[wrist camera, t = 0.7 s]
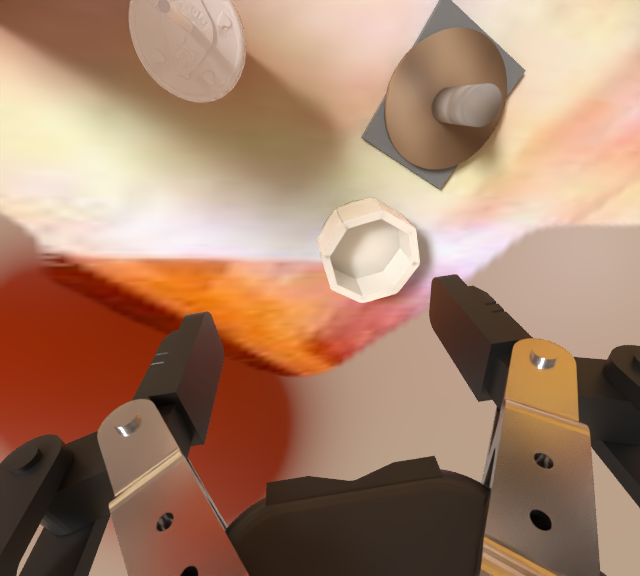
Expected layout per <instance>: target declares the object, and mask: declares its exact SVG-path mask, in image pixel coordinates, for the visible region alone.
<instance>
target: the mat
mask: <svg viewBox="0 0 640 576" xmlns="http://www.w3.org/2000/svg"><path fill="white" fill-rule="evenodd" d="M457 27H463V28H470V29H473V30H476V31H478V32H480V33H482V34H484V35H485V36H487V37H488V38H489V39H490V40H491V41H492V42H493V43H494V44H495V45H496V47H497V49H498V50H499V52H500V54H501V56H502V58H503V61H504V65H505V68H506V75H507V92H506V97H507V96H508V94H509V93H510V92H511V90H512V89H513V87H514V86H515V85H516V83H517V82H518V80H519V79H520V78H521V76H522V75H523V73H524V72H525V70H524V69H523V68H522V67H521V66H520V65H519V64H518V63H517V62H516V61H515V60H514V59H513V58H512V57H511V56H510V55H509V54H507V53H506V52H505V51H504V50H503V49H502V48H501V47H500V46H499V45H498V44H497V43H496V42H495V41H494V40H493V39H492V38H490V37H489V36H488V35H487V34H486V33H485V32H484V31H483V30H482V29H481V28H480V27H479V26H478V25H477V24H476V23H475V22H474V21H472V20H471V19H470V18H469V17H468V16H467V15H466V14H465V13H464V12H463V11H462V10H461V9H460V8H459V7H458V6H457V5H455V4H454V3H453V2H452V1H451V0H439V2H438V4H437V5H436V7H435V9H434V11H433V12H432V14H431V16H430V18H429V19H428V21H427V23H426V25H425V27H424V28H423V30H422V32H421V34H420V35H419V37H418V39H417V41H416V42H415V44H414V46H415V45H416V44H418V43H419V42H420V41H421V40H423V39H425V38H426V37H428V36H430V35H432V34H434V33H437V32H439V31H442V30H445V29H449V28H457ZM414 46H413V47H414ZM385 97H386V95H385ZM385 97H384V99H383V100H382V102H381V104H380V106H379V107H378V109H377V111H376V113H375V114H374V116H373V118H372V120H371V121H370V123H369V125H368V127H367V128H366V130H365V132H364V134H363V135H362V137H361V138H363V139H364V140H366V141H367V142H369V143H370V144H372V145H373V146H375V147H376V148H378V149H379V150H381V151H382V152H384V153H385V154H387V155H388V156H390V157H391V158H393V159H394V160H396V161H397V162H399V163H400V164H402V165H404V166H405V167H407V168H408V169H410V170H411V171H413V172H414V173H416V174H417V175H419V176H420V177H422V178H423V179H425V180H426V181H428V182H429V183H431V184H432V185H434V186H435V187H437V188H438V189H441V187H442V186H443V185H444V183H445V182H446V180H447V179H448V178H449V176H450V175H451V173H452V172H453V171H454V169H455V168H456V167H457V165H458V164H457V165H454V166H452V167H448V168H444V169H426V168H421V167H419V166H416V165H414V164H412V163H410V162H408V161H406V160H405V159H404V158H403V157H401V156H400V155H399V154H398V152H397V151H396V150H395V149H394V147H393V146H392V144H391V142H390V140H389V137H388V134H387V132H386V127H385V121H384V104H385Z"/></svg>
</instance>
